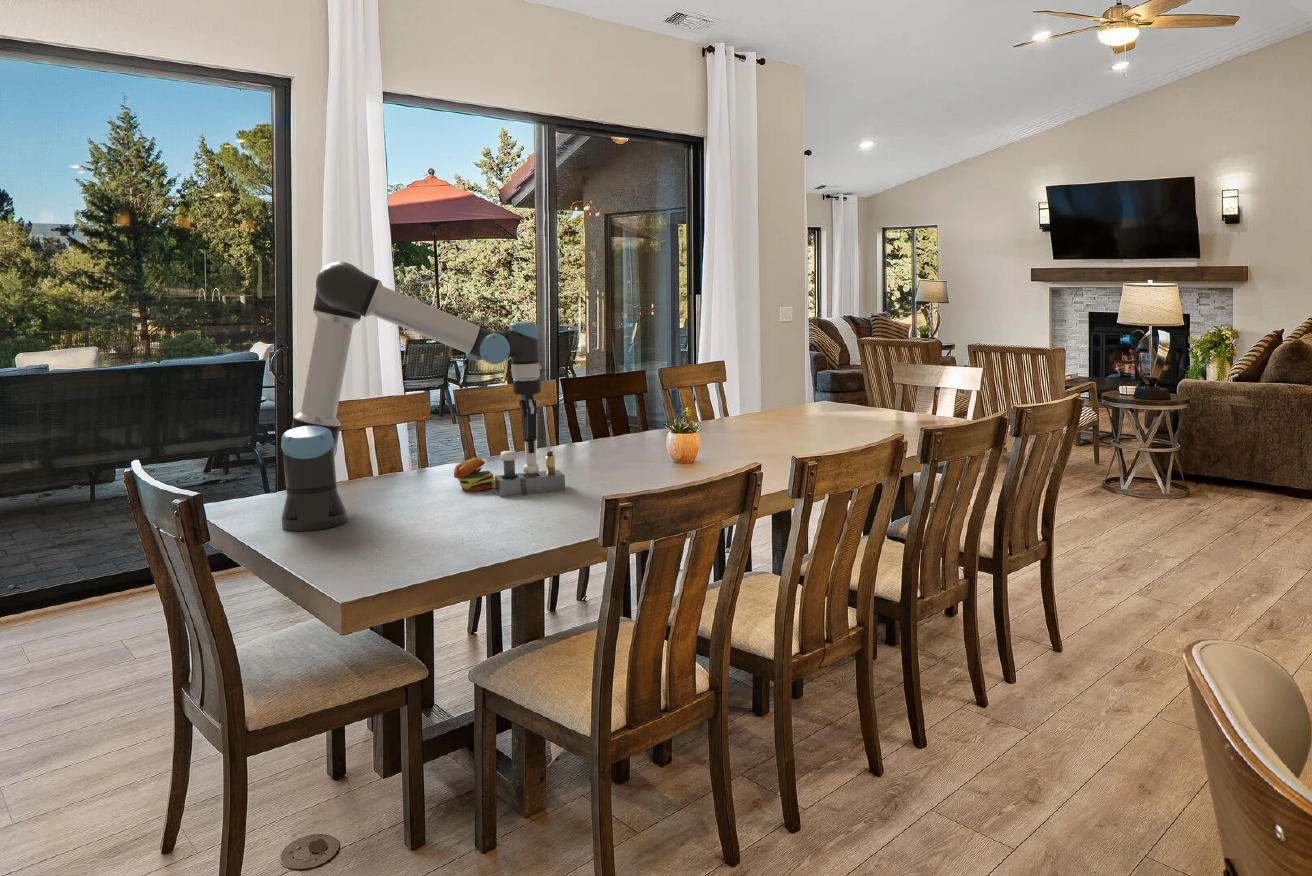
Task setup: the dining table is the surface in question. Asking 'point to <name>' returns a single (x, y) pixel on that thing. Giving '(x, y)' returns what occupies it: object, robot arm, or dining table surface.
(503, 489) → the mount
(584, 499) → the dining table surface
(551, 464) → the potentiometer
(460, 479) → the cheeseburger
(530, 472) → the knob
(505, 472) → the knob
